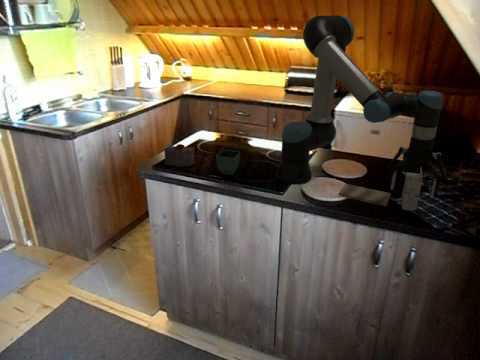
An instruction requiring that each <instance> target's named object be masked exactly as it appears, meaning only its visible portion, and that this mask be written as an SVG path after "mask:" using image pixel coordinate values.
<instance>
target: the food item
mask: <svg viewBox="0 0 480 360" xmlns="http://www.w3.org/2000/svg"><path fill="white" fill-rule="evenodd" d="M163 153H164V164H165V166H171V167H172V166H175V167H176V168H181V167H185V168H186V167H188V168H190V167H191V166H192V165H194V164H195V147H188V146H187V147H185V145H184V144H182V143H178V144H176V145H175V146H174V145H167V146H166V147H165V148H164V152H163Z"/></svg>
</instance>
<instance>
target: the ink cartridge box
mask: <svg viewBox="0 0 480 360" xmlns="http://www.w3.org/2000/svg"><path fill="white" fill-rule="evenodd" d="M419 171H420V172H419V173H416V172H415V173H408V172H407V173H406V175H405V180H404V184H403V189H402V195H401V199H400V200H402V202H401V209H402V211H403V210H404V211H410V210H417V207H418V201H419V197H420V192H421V188H422V183H423V182H422V181H423V175H424V174H423V169H422V167H420V169H419Z"/></svg>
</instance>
